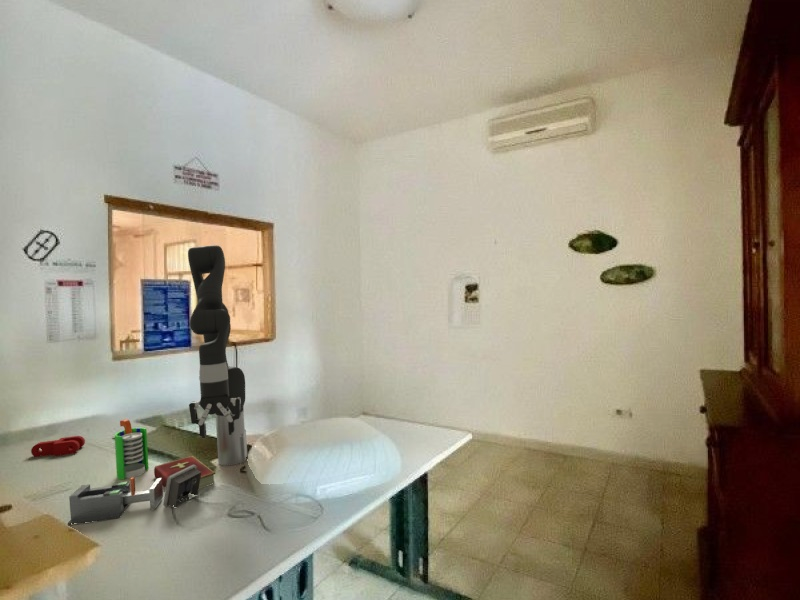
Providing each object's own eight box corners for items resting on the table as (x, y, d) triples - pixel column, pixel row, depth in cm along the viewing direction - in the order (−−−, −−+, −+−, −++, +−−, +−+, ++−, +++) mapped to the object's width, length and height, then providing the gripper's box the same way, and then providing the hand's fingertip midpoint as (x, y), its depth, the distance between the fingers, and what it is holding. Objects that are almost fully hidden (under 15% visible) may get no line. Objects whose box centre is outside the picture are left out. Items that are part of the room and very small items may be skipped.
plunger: (163, 496, 126) (161, 469, 126) (155, 508, 120) (153, 480, 119) (112, 504, 124) (110, 476, 123) (101, 516, 117) (99, 487, 117)
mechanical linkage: (85, 447, 175) (84, 435, 175) (78, 453, 168) (77, 440, 168) (37, 453, 170) (36, 441, 170) (28, 460, 163) (27, 447, 163)
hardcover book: (174, 499, 127) (173, 485, 127) (154, 478, 142) (153, 465, 142) (215, 485, 135) (215, 471, 135) (193, 466, 150) (192, 454, 150)
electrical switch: (190, 492, 130) (190, 462, 129) (203, 496, 128) (203, 466, 127) (162, 508, 121) (162, 476, 120) (176, 512, 119) (176, 480, 118)
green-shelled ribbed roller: (131, 480, 141) (127, 425, 140) (110, 479, 142) (106, 424, 142) (152, 468, 150) (149, 416, 149) (132, 467, 151) (129, 416, 151)
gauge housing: (133, 500, 126) (131, 476, 126) (119, 518, 116) (117, 492, 116) (86, 507, 124) (84, 482, 123) (67, 525, 114) (65, 499, 114)
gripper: (242, 374, 131) (245, 428, 131) (190, 378, 128) (194, 434, 128) (238, 378, 123) (241, 436, 124) (183, 383, 120) (187, 443, 121)
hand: (217, 435), depth 126 cm, fingers open, 6 cm apart
